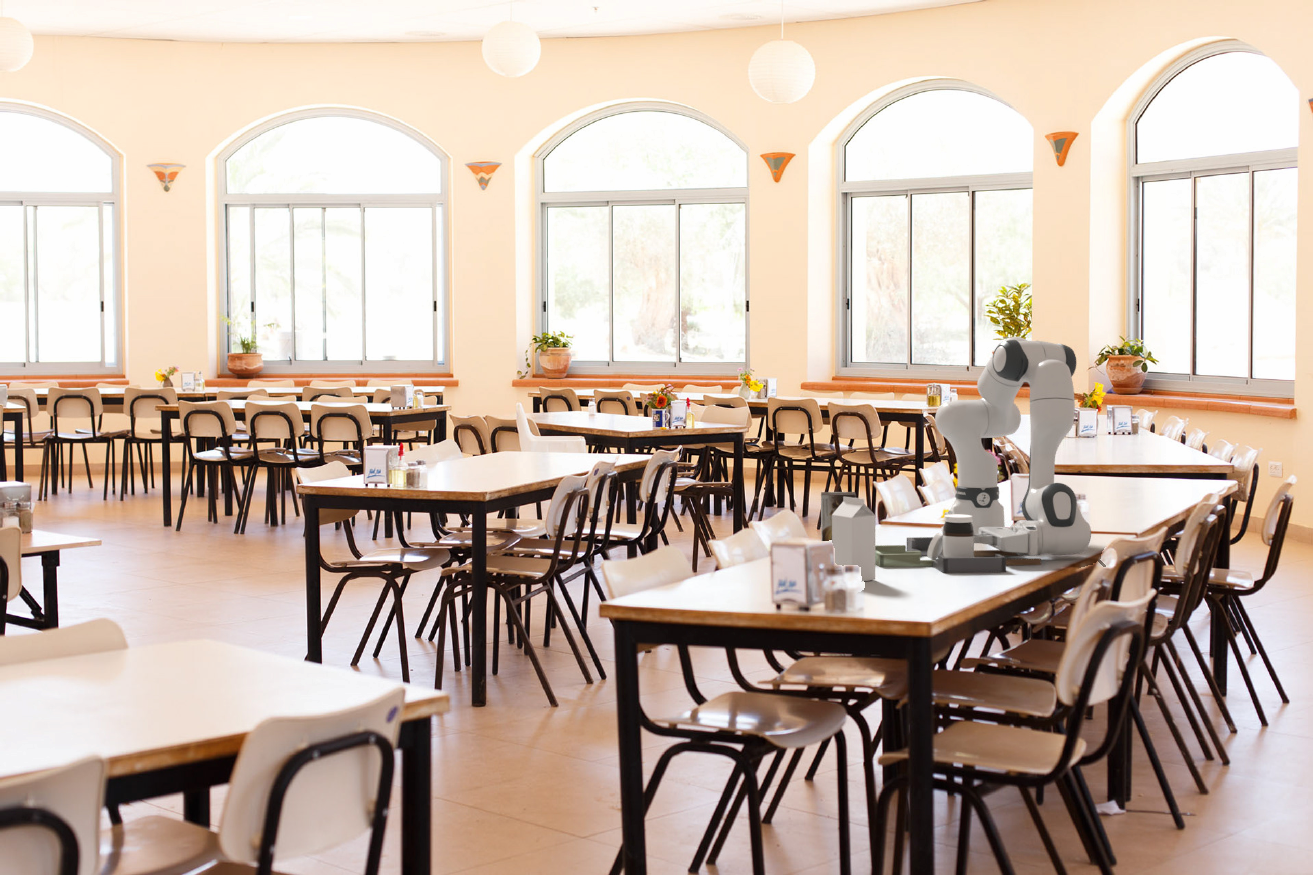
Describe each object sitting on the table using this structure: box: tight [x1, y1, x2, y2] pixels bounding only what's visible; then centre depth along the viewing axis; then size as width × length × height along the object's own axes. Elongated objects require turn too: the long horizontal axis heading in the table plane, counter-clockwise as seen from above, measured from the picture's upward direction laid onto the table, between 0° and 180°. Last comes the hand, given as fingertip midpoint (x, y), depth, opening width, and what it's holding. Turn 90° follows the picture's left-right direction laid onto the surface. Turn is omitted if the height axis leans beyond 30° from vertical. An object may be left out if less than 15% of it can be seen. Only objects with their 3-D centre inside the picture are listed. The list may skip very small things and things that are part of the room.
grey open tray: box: [906, 536, 942, 557], centre depth 344 cm, size 10×15×4 cm
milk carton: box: [832, 497, 876, 582], centre depth 303 cm, size 7×7×19 cm
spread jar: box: [926, 514, 975, 560], centre depth 330 cm, size 12×11×12 cm
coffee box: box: [820, 491, 857, 541], centre depth 344 cm, size 9×6×16 cm
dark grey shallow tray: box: [931, 554, 1007, 574], centre depth 318 cm, size 10×15×4 cm
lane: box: [875, 544, 1042, 568], centre depth 331 cm, size 16×40×3 cm, turn 93°
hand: (970, 539), depth 331 cm, fingers closed, pressing on spread jar
